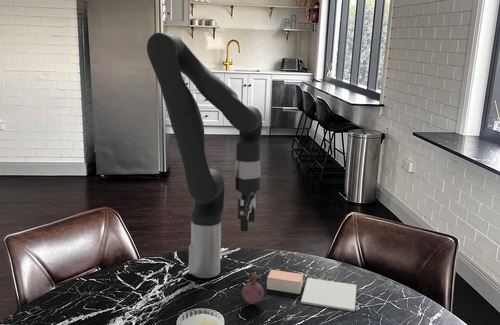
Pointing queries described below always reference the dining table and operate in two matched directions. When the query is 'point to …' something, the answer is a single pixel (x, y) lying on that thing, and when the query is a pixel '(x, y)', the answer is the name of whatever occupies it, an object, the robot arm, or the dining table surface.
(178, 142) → the robot arm
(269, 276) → the card box
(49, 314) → the dining table surface
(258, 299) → the vegetable
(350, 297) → the mat
